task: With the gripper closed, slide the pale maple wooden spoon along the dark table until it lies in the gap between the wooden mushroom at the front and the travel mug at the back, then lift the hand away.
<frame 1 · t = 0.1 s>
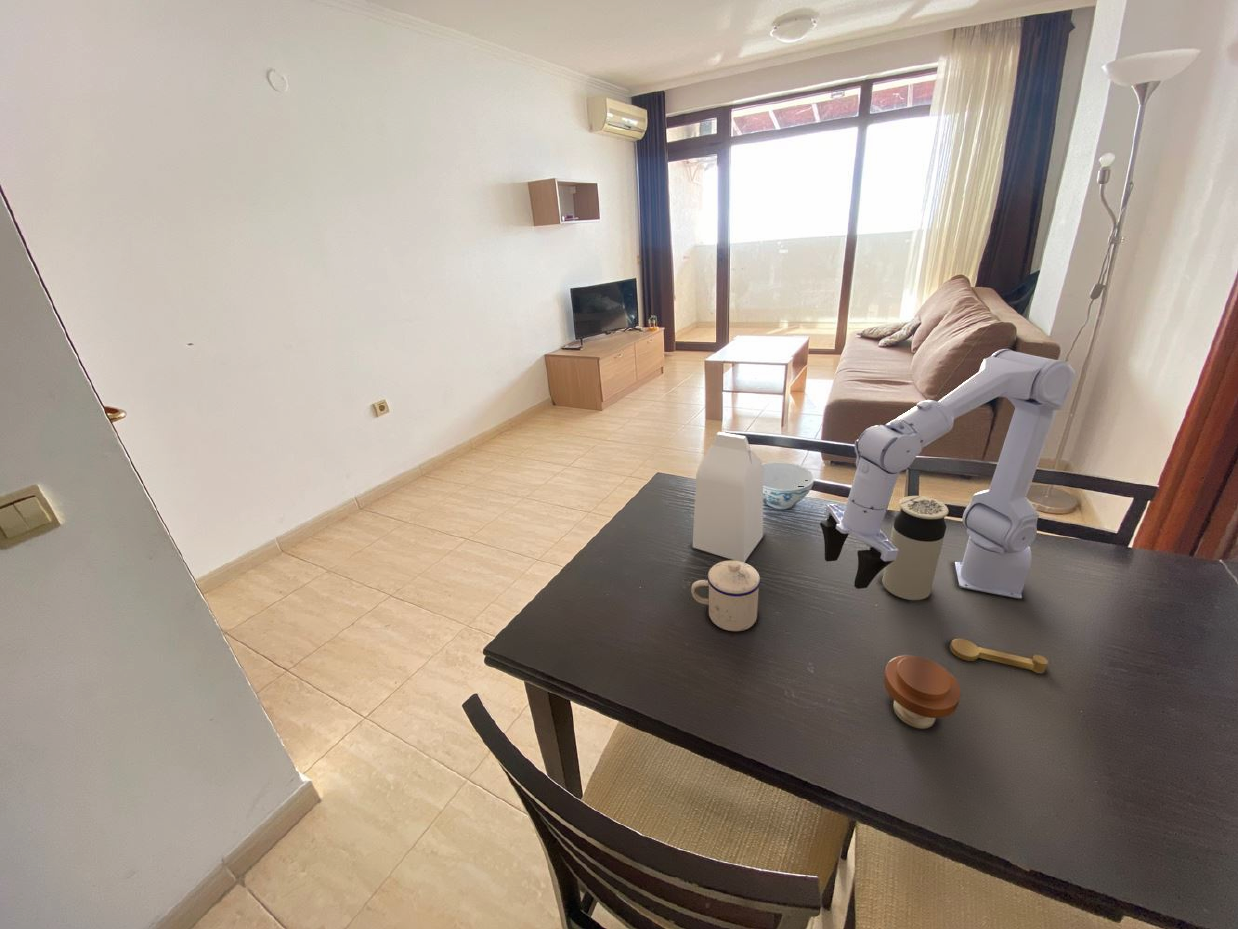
hand: (845, 573, 84), 11 cm above the table, tool pointing down, fingers open, 7 cm apart
chinaware: (779, 503, 126), on the table
milk: (728, 542, 112), on the table
travel mug: (905, 588, 95), on the table
spoon: (987, 657, 79), on the table
mushroom: (913, 712, 71), on the table
teacup with lid: (724, 615, 92), on the table
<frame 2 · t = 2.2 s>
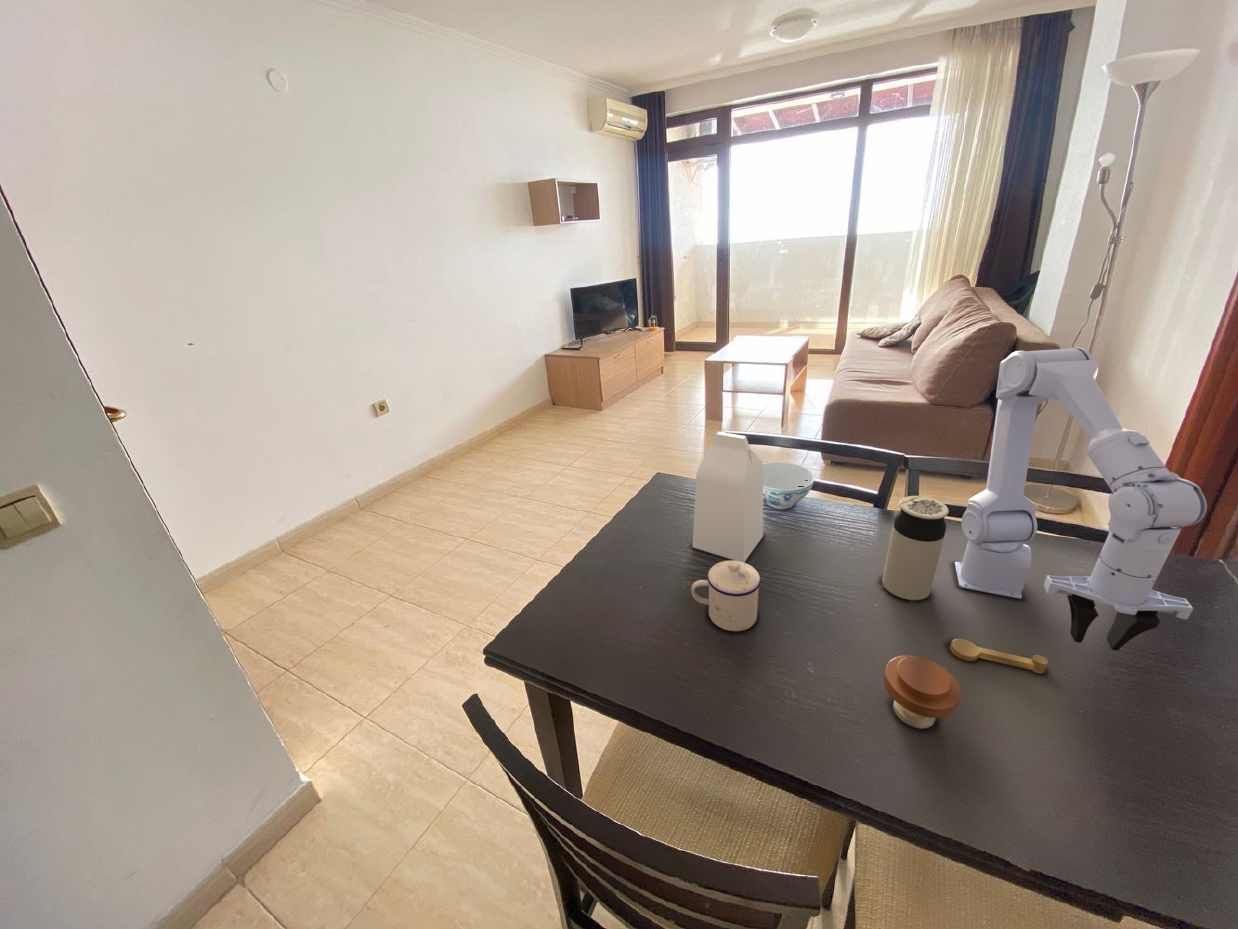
hand: (1093, 641, 71), 7 cm above the table, tool pointing down, fingers open, 3 cm apart
nothing on the table moved.
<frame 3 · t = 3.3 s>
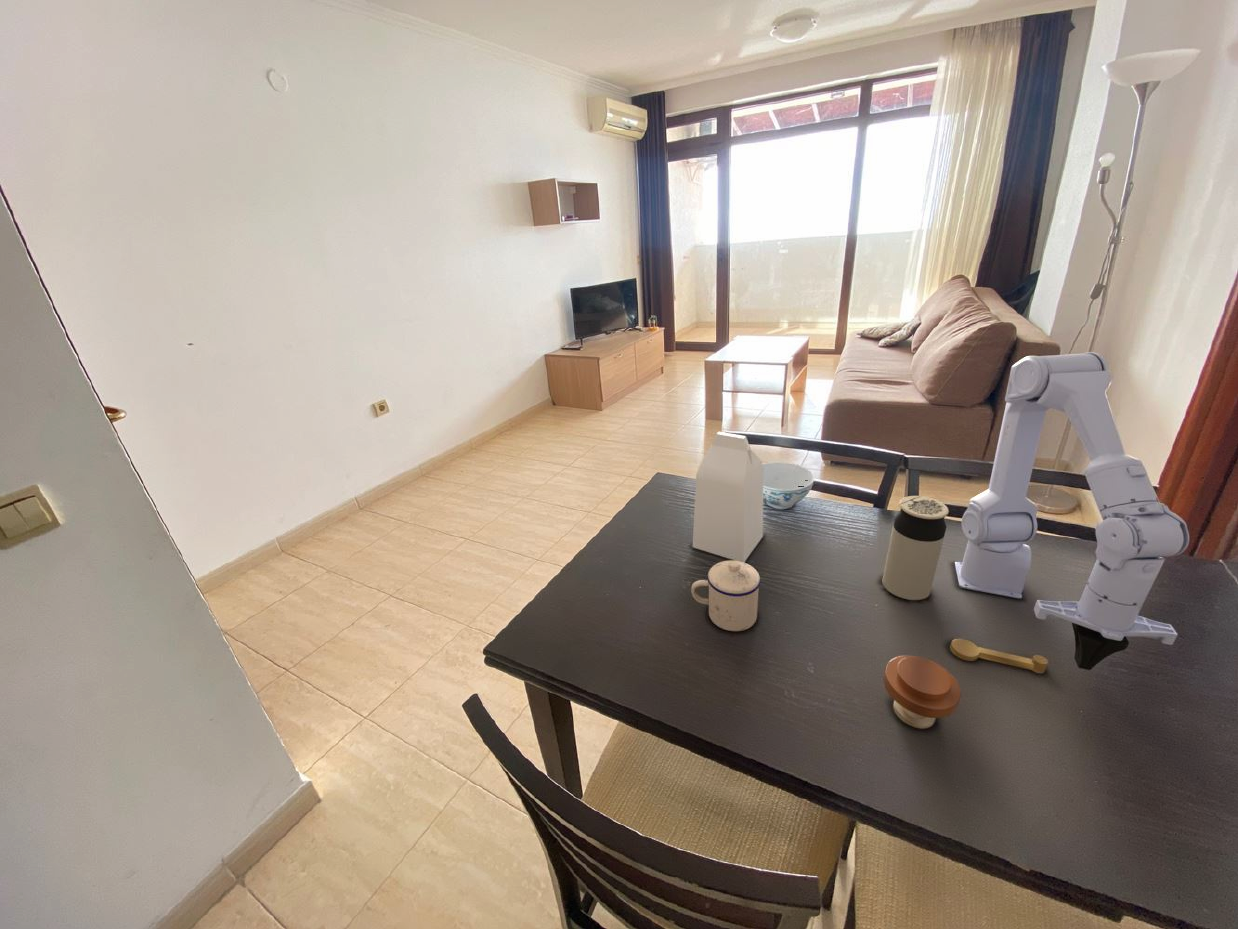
hand: (1082, 664, 73), 3 cm above the table, tool pointing down, fingers closed
nothing on the table moved.
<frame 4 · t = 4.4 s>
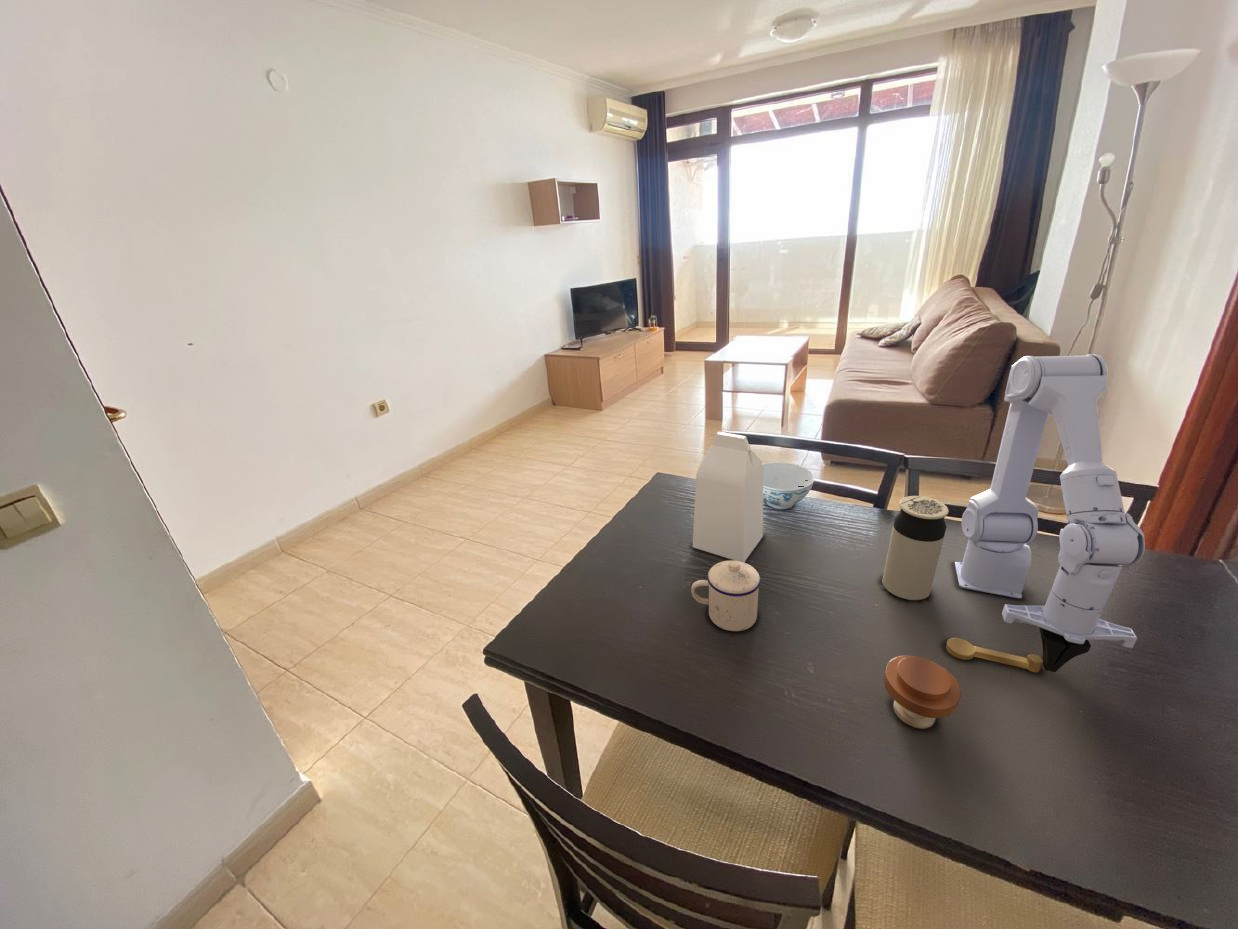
hand: (1048, 666, 76), 1 cm above the table, tool pointing down, fingers closed
spoon: (983, 656, 79), on the table, touching gripper
everything else where it was.
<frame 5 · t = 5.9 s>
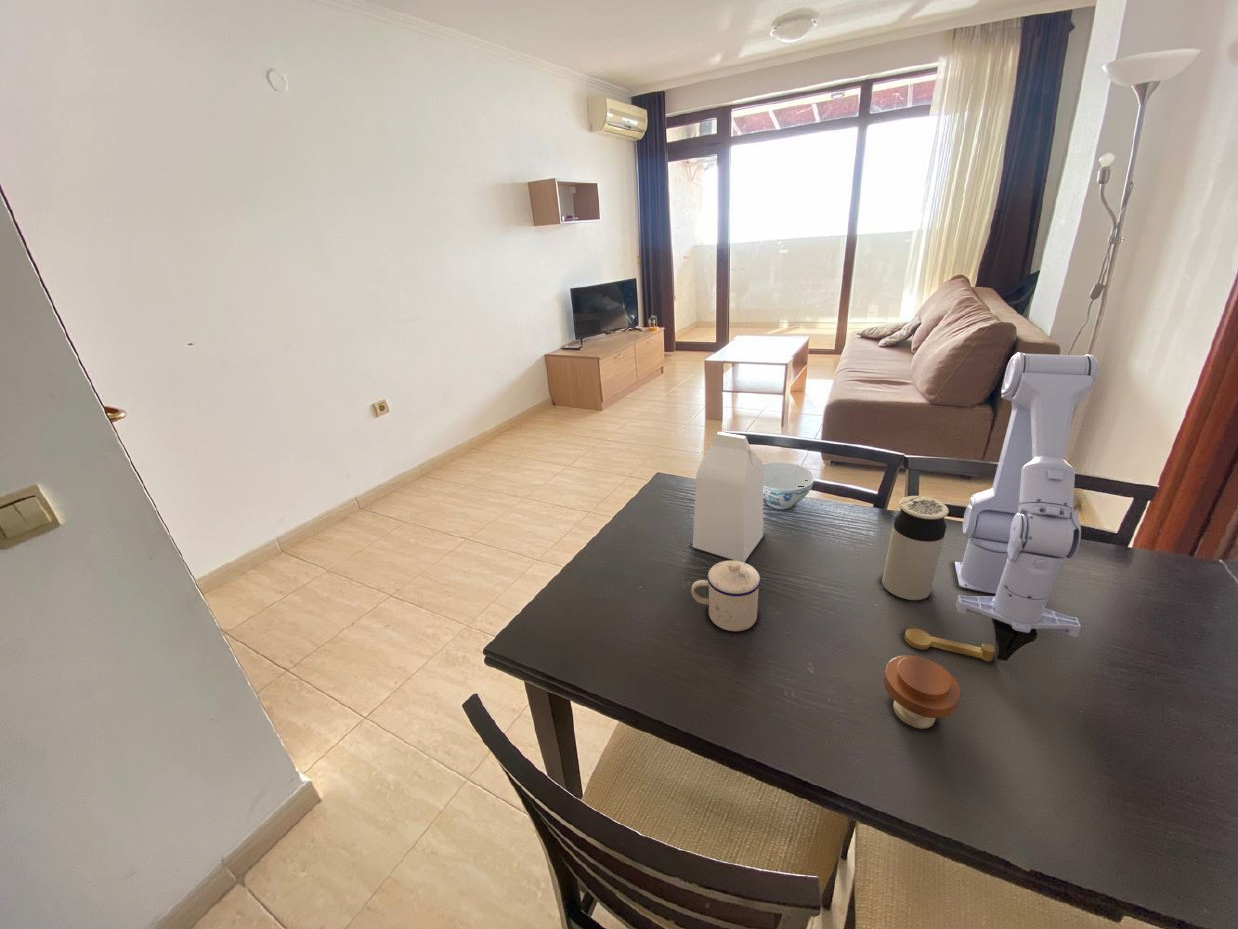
hand: (1000, 655, 78), 1 cm above the table, tool pointing down, fingers closed
spoon: (940, 646, 82), on the table, touching gripper
everything else where it was.
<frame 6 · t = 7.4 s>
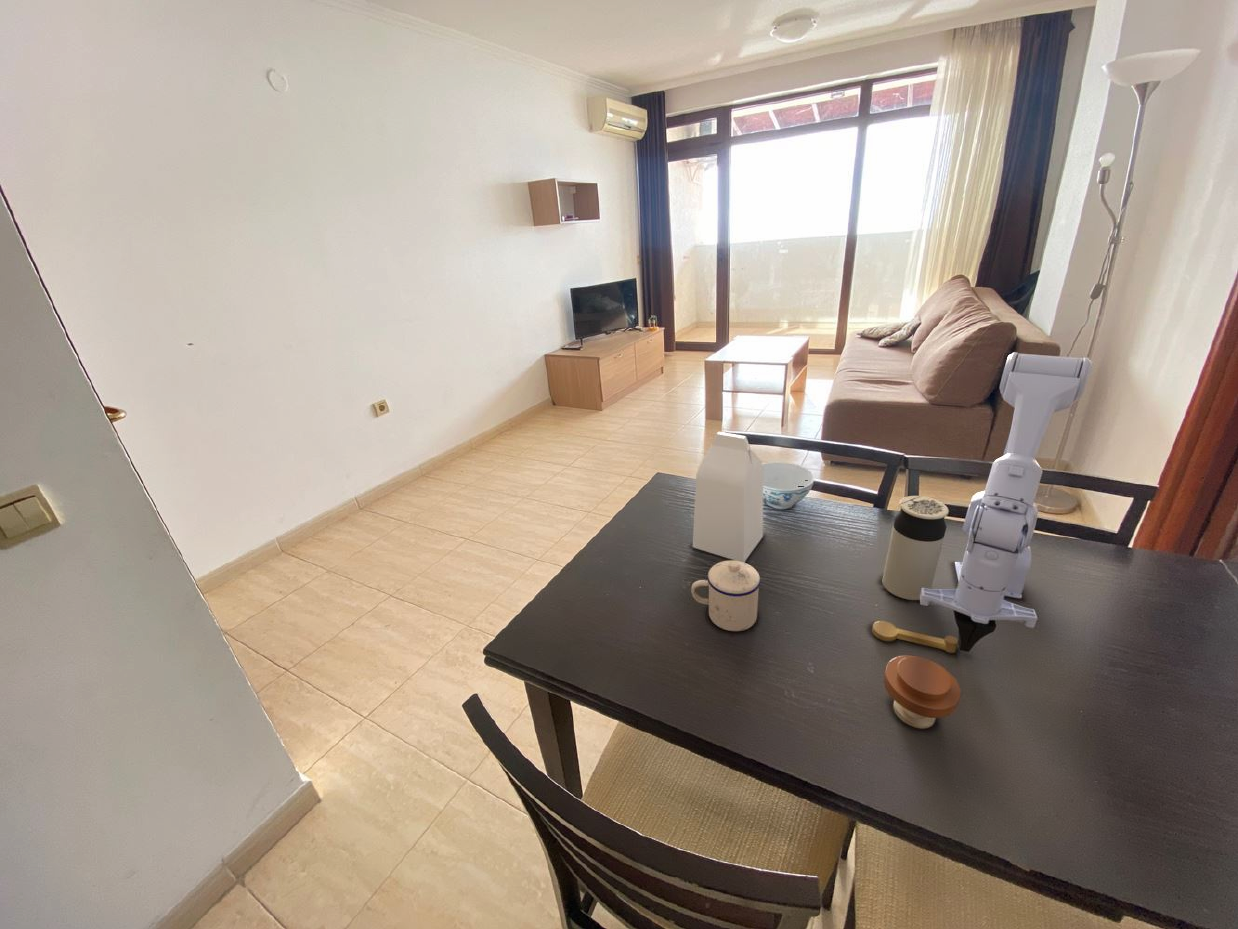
hand: (963, 646, 80), 1 cm above the table, tool pointing down, fingers closed
spoon: (905, 638, 84), on the table, touching gripper
everything else where it was.
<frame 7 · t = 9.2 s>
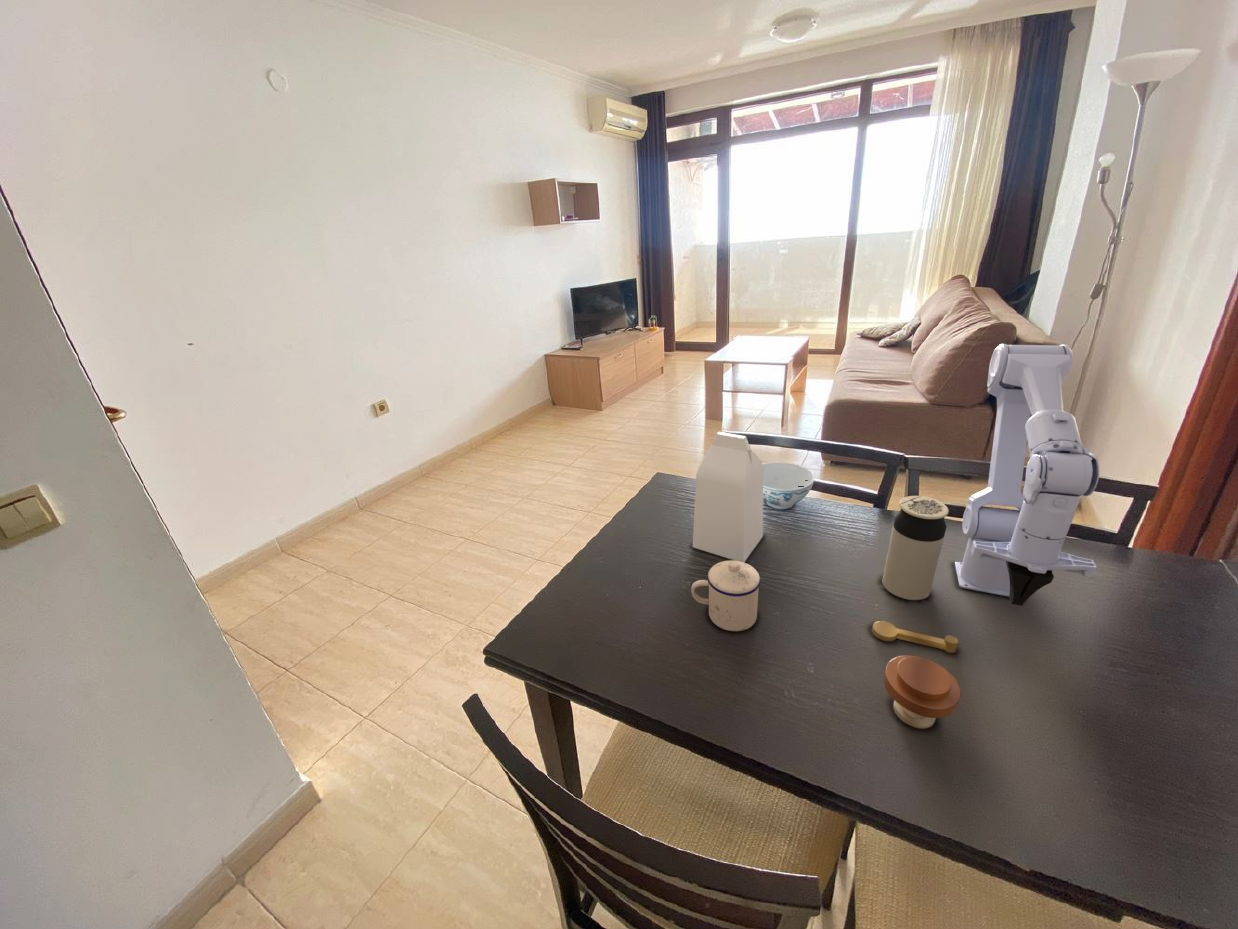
hand: (1015, 601, 79), 8 cm above the table, tool pointing down, fingers closed
spoon: (905, 638, 84), on the table
everything else where it was.
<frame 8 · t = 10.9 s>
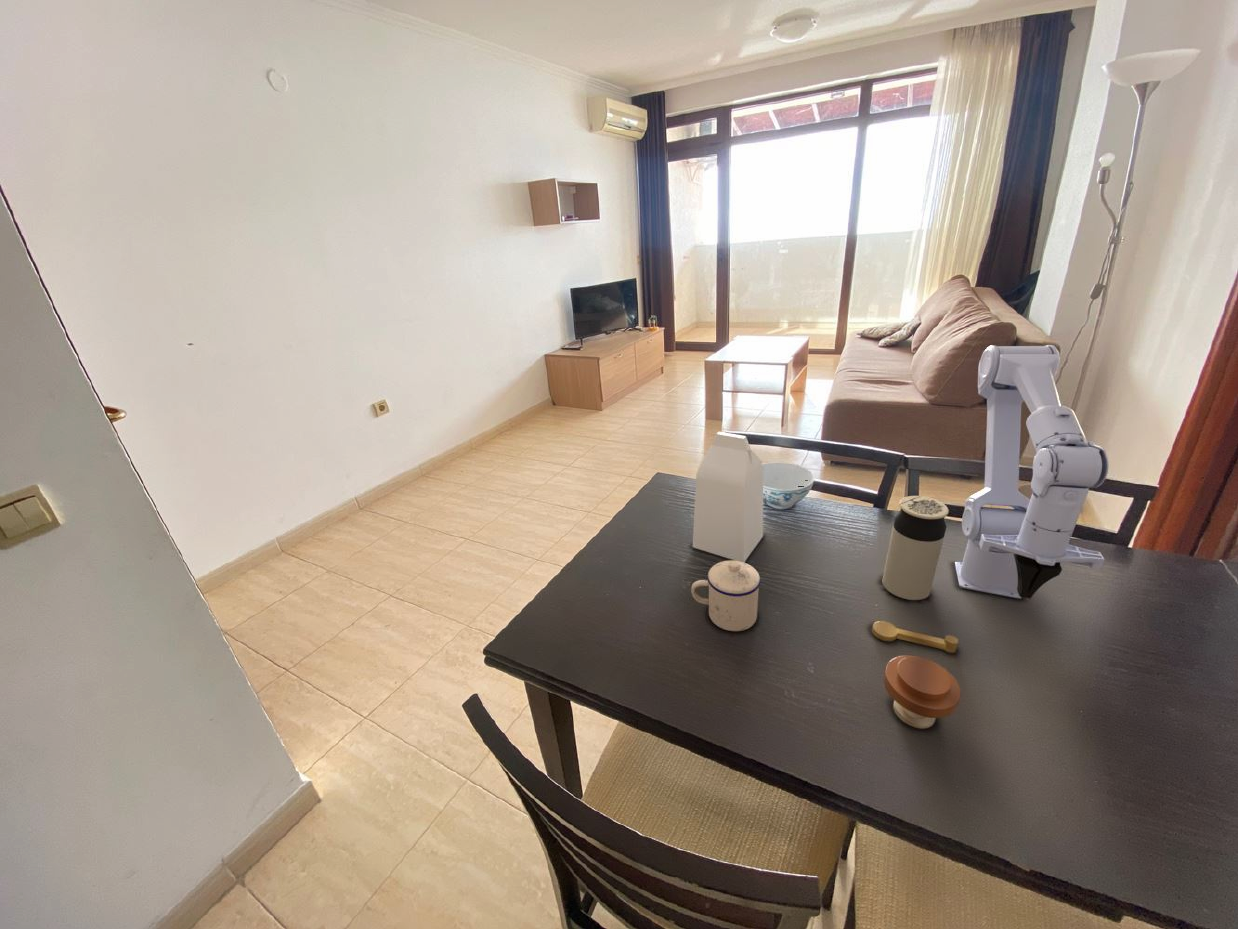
hand: (1023, 594, 79), 8 cm above the table, tool pointing down, fingers closed
nothing on the table moved.
at the end: spoon inside the target area on the table beside the mushroom (0.7 cm from its centre), on the table; spoon tilted 0°; travel mug moved 0.2 cm from its start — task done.
